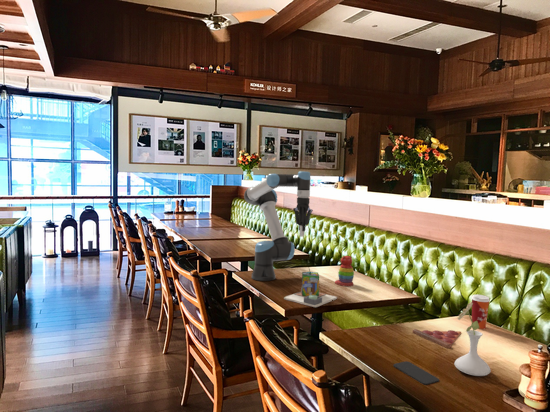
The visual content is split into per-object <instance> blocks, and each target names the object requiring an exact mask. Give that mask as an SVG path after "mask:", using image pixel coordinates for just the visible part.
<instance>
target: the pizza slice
mask: <svg viewBox="0 0 550 412" xmlns="http://www.w3.org/2000/svg"><path fill="white" fill-rule="evenodd" d="M412 334H414V335H416V336H418V337H421V338H423V339H425V340H428V341H430V342H431V343H434V344H436V345H438V346H441V347H444V348H446V349H451V347H452V345H453V344H454V342H455V341H457V339H458V338H459V337H460V335H461V334H462V331H460V330H459V331H458V330H457V331H456V330H452V329H451V330H450V329H449V330H447V331H446V330H445V331H443V330H441V331H440V330H432V331H431V330H427V329H423V330H420V329H417V328H414V329H412Z"/></svg>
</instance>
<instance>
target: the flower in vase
mask: <svg viewBox="0 0 550 412" xmlns="http://www.w3.org/2000/svg"><path fill="white" fill-rule="evenodd" d="M472 304H473V303H472V301H470V302H468V303H467V305H466V308H463V309H462V312H461V313H460V314H458V317H457V318H456V319H457V320H459V321H460V320H461V319H463V318H464V317H465V316H466V315H468V317H469V318H470V322H471V325H469V327H467V328H466V330H465V332H466V333H467V335H468V338H469V351H468V353H466V354H464V355H462V356H459V357H458V358H457V359H455V361H454V366H455V367H456V369H457V370H459V371H461V372H462V373H464V374H467V375H470V376H475V377H484V376H488V375H489V374H490V373H491V371H492V370H491V367H490V366H489V364H488V363H487V362H486V361H485V360H484V359H483V358H481V356H480V355H479V354H478V344H479V340H480V339H481V337H482V336H483V333H482V332H481V331H478V330H480V329H479V324H478V322H477V321H475V322H474V323H473V322H472V315H470V311H469V310H470V309H472Z"/></svg>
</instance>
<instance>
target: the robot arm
mask: <svg viewBox="0 0 550 412" xmlns="http://www.w3.org/2000/svg"><path fill="white" fill-rule="evenodd" d="M311 180H312V179H311V172H309V171H302V170H300V171H298V172H297V174H292V173H291V174H287V173H269V174H268V175H267V177H266V179H265V180H263V181H261V182H260V183H258V184H256V185H255V186H249V187H248V188H247V189H246V190H245V191H244V193H243V198H244V201H245V202H246V203H247V204H248V205H250V206H259V209H260V210H261V211H263V212H262V213H263V214H264V219H265V221H266V224H267V228H268V231H269V234H270V236H271V240H261V241H258V242H257V243H255V248H254V267H253V268H252V269H253V271H252V273H251V279H252V280H255V281H261V282H269V281H274V280H276V273H275V268H274V262H279V261H289V260H292V259H293V257H294V255H295V251H296V250H295V247H296V246H295V243H294V242H292V241H290V240H289V237H287V236H285V233H284V231H283V227H282V224H281V221H280V218H279V214H278V212H277V209H276V206H277V203H278V194H277V192H276V191H275V190H274V189H276V188H280V187H283V188H284V187H286V188H288V187H289V188H297V191H296V194H297V195H296V196H297V197H296V204H297V205H296V206H295V207H293V209H292V210H293V212H294V216H295V223H296V225H298V231H299V237H304V236H305V232H306V226H309V223H310V219H311V216H312V213H313V209H311V208H310V194H311Z"/></svg>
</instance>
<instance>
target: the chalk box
mask: <svg viewBox="0 0 550 412" xmlns="http://www.w3.org/2000/svg"><path fill="white" fill-rule="evenodd" d="M308 270H309V271H302V272H301V291H302V296H309V295H316V296H319V293H320V274H319V272H316V271H314V272H313V271H311V270H310V268H308Z"/></svg>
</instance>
